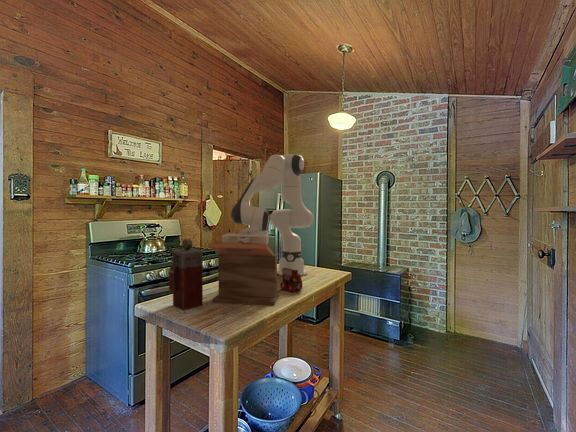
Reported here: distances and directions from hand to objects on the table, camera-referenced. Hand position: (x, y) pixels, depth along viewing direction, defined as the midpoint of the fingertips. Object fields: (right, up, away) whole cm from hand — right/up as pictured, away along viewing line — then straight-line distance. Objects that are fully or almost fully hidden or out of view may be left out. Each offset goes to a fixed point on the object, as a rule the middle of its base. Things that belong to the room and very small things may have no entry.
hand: (241, 241), depth 127 cm
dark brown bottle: (-23, -27, +1) cm, 36 cm away
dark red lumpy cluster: (+21, -26, +25) cm, 42 cm away
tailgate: (+1, -7, +9) cm, 11 cm away
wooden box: (+1, -27, +10) cm, 29 cm away
